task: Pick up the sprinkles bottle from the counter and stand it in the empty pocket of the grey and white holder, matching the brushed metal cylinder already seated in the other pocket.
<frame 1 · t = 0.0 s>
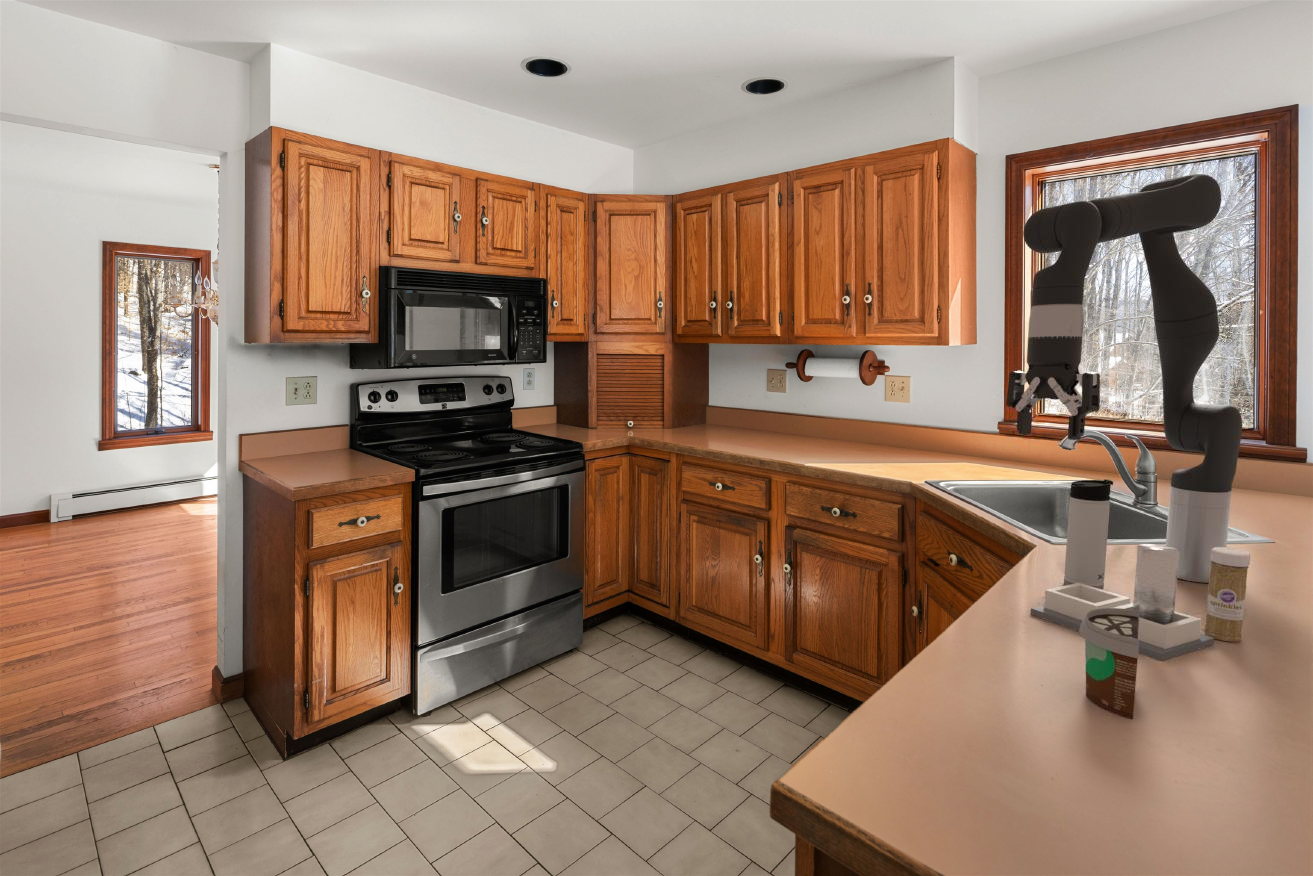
hand: (1048, 436, 113), 29 cm above the counter, tool pointing down, fingers open, 8 cm apart
sprinkles bottle: (1222, 638, 106), on the counter
food container: (1103, 697, 88), on the counter
grey and white holder: (1116, 628, 110), on the counter
travel mug: (1084, 588, 130), on the counter
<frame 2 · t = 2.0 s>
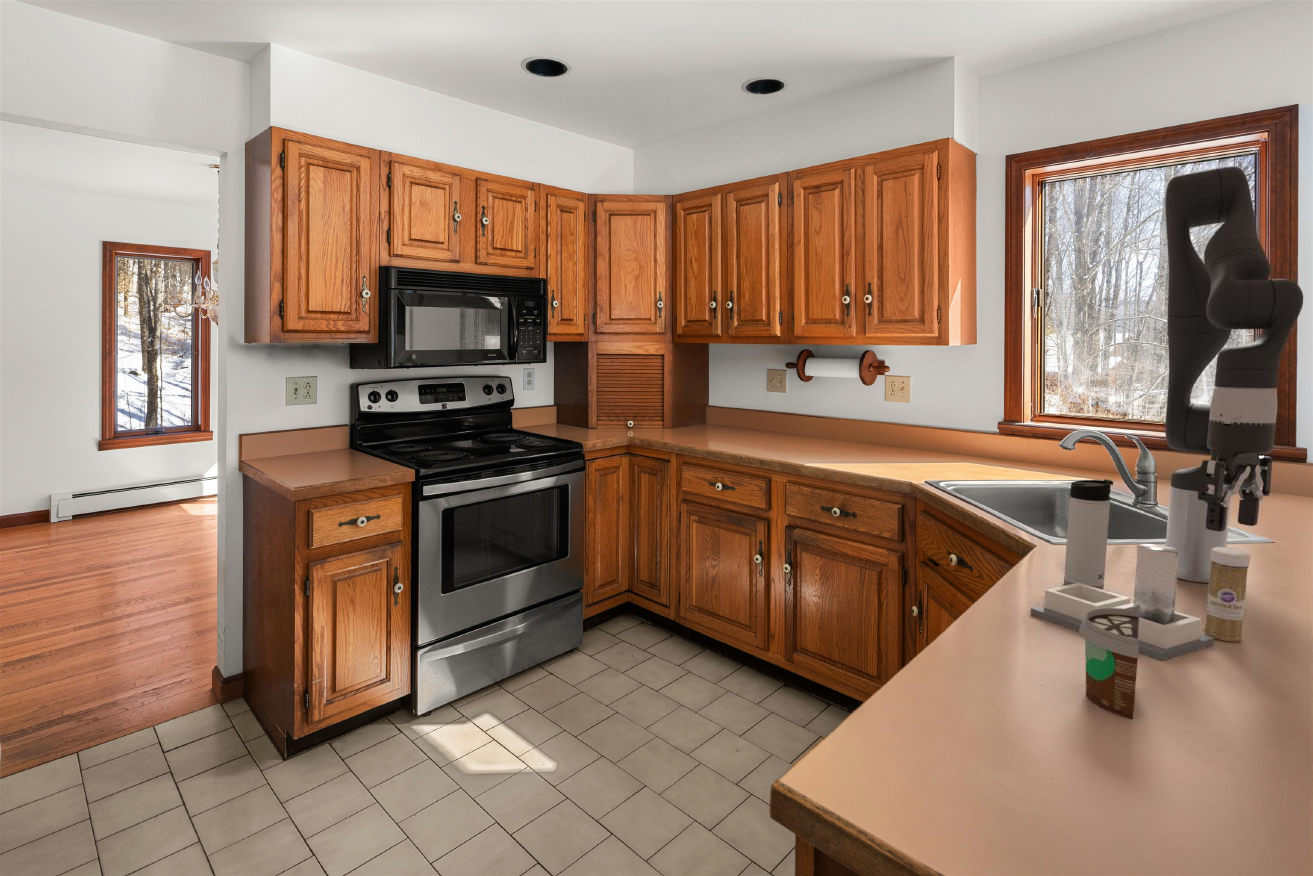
hand: (1231, 527, 105), 17 cm above the counter, tool pointing down, fingers open, 8 cm apart
nothing on the counter moved.
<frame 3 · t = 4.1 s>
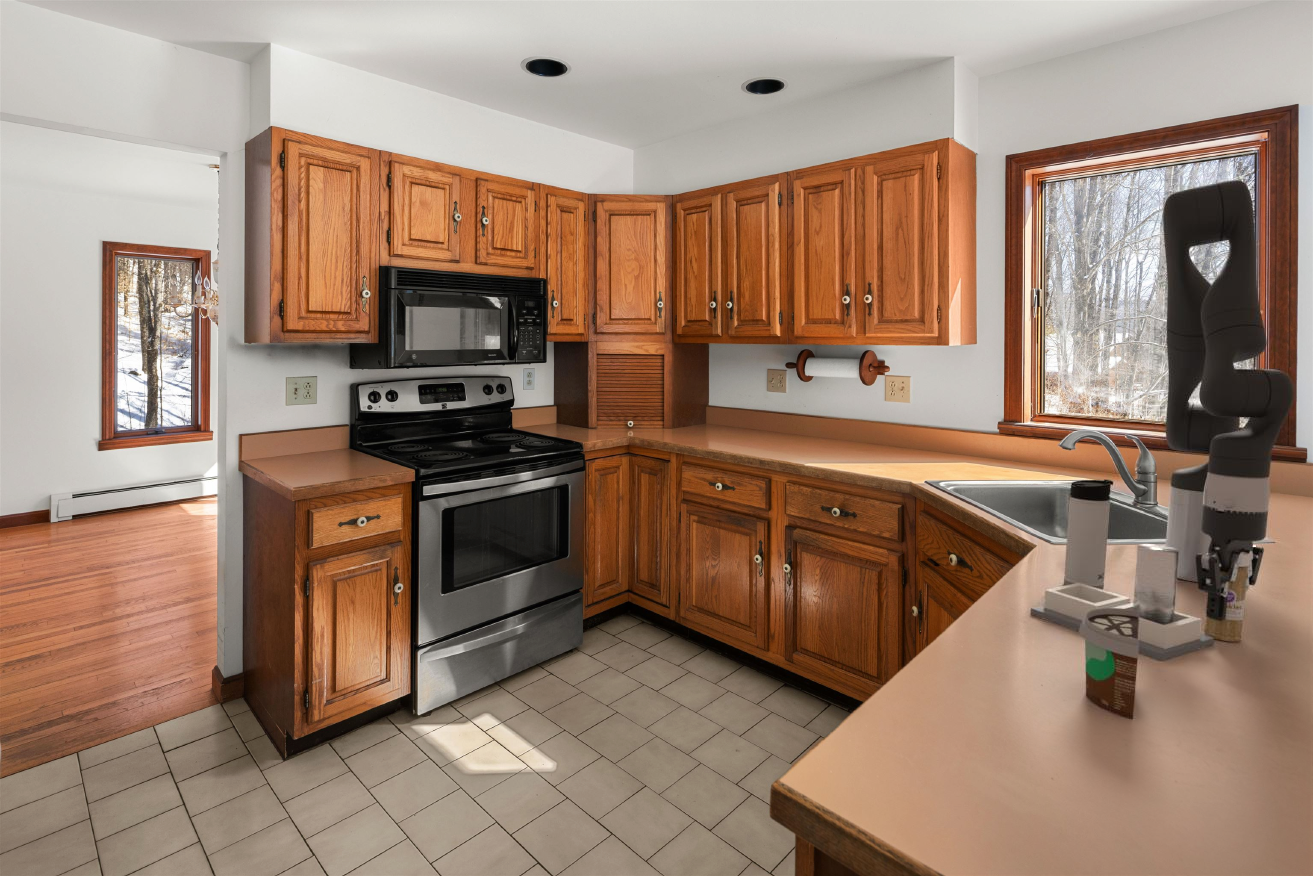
hand: (1224, 615, 106), 3 cm above the counter, tool pointing down, fingers closed on sprinkles bottle, 4 cm apart
sprinkles bottle: (1222, 638, 106), on the counter, touching gripper
everything else where it was.
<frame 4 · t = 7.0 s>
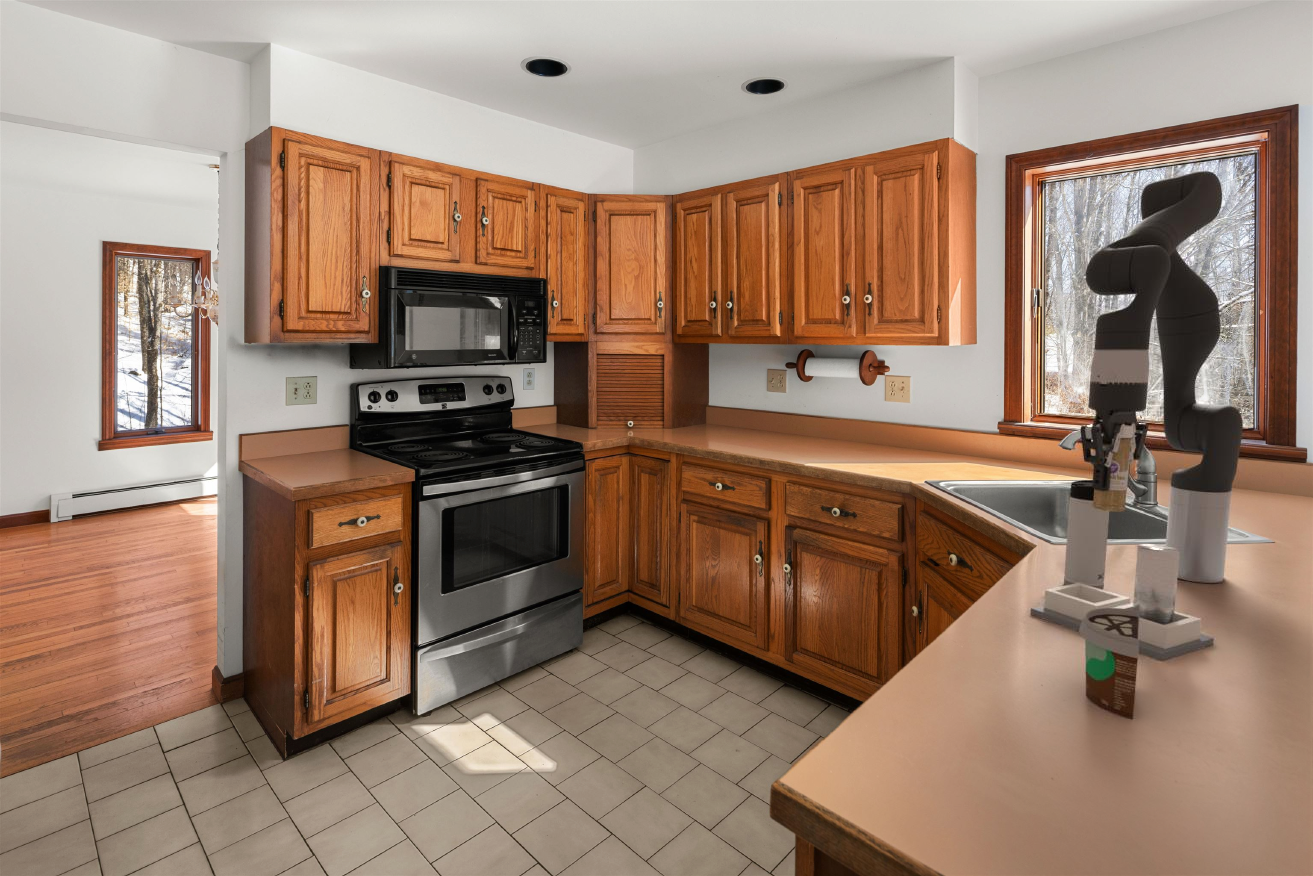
hand: (1110, 488, 111), 22 cm above the counter, tool pointing down, fingers closed on sprinkles bottle, 4 cm apart
sprinkles bottle: (1108, 510, 111), point 18 cm above the counter, touching gripper
everything else where it was.
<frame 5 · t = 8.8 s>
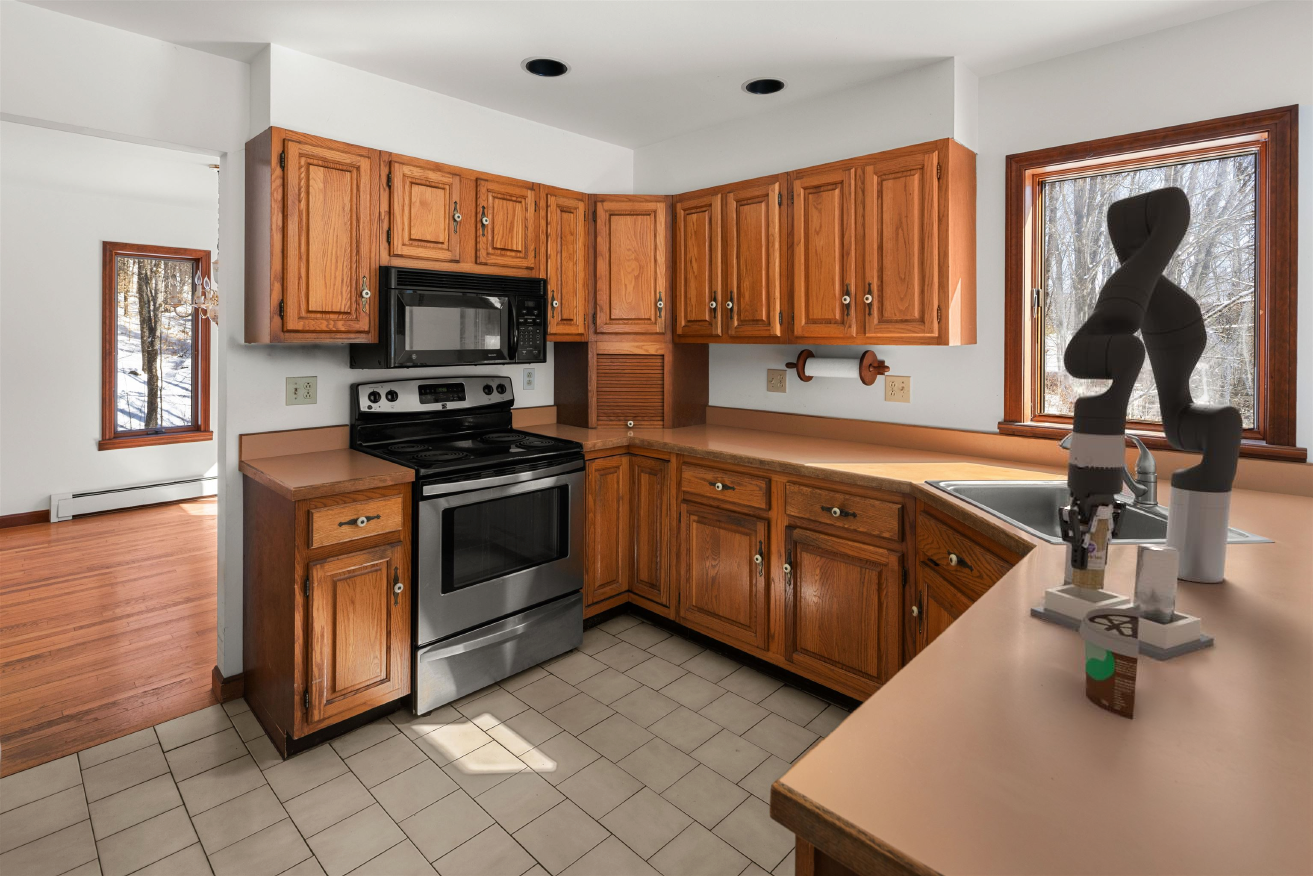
hand: (1088, 566, 113), 9 cm above the counter, tool pointing down, fingers closed on sprinkles bottle, 4 cm apart
sprinkles bottle: (1087, 587, 114), point 5 cm above the counter, touching gripper
everything else where it was.
when the fingers open (6 cm above the counter, at t = 10.1 s): sprinkles bottle drops 1 cm, resting on grey and white holder.
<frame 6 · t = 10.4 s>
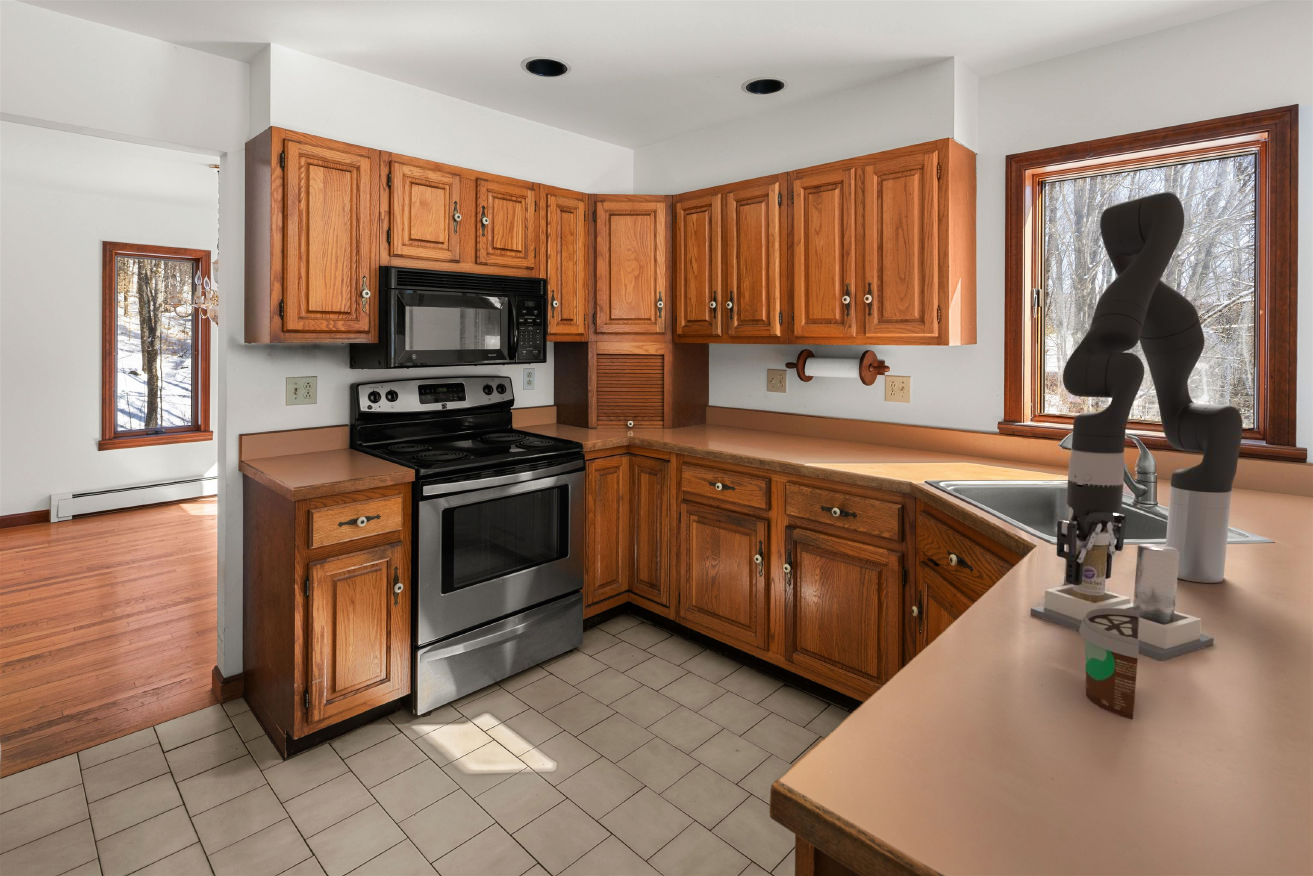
hand: (1088, 580, 114), 6 cm above the counter, tool pointing down, fingers open, 6 cm apart
sprinkles bottle: (1087, 612, 114), point 1 cm above the counter, touching grey and white holder
everything else where it was.
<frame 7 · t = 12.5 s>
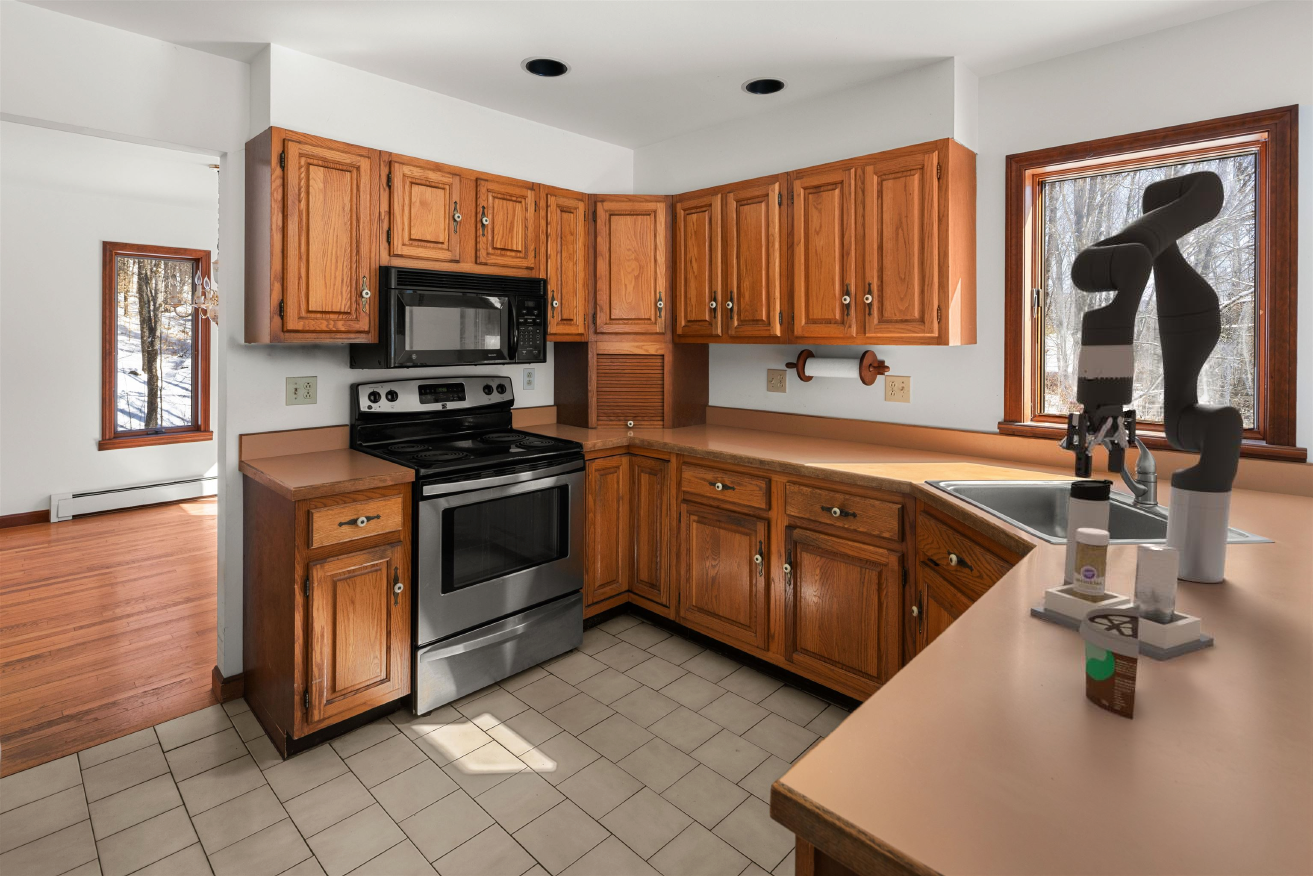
hand: (1099, 475, 114), 23 cm above the counter, tool pointing down, fingers open, 8 cm apart
nothing on the counter moved.
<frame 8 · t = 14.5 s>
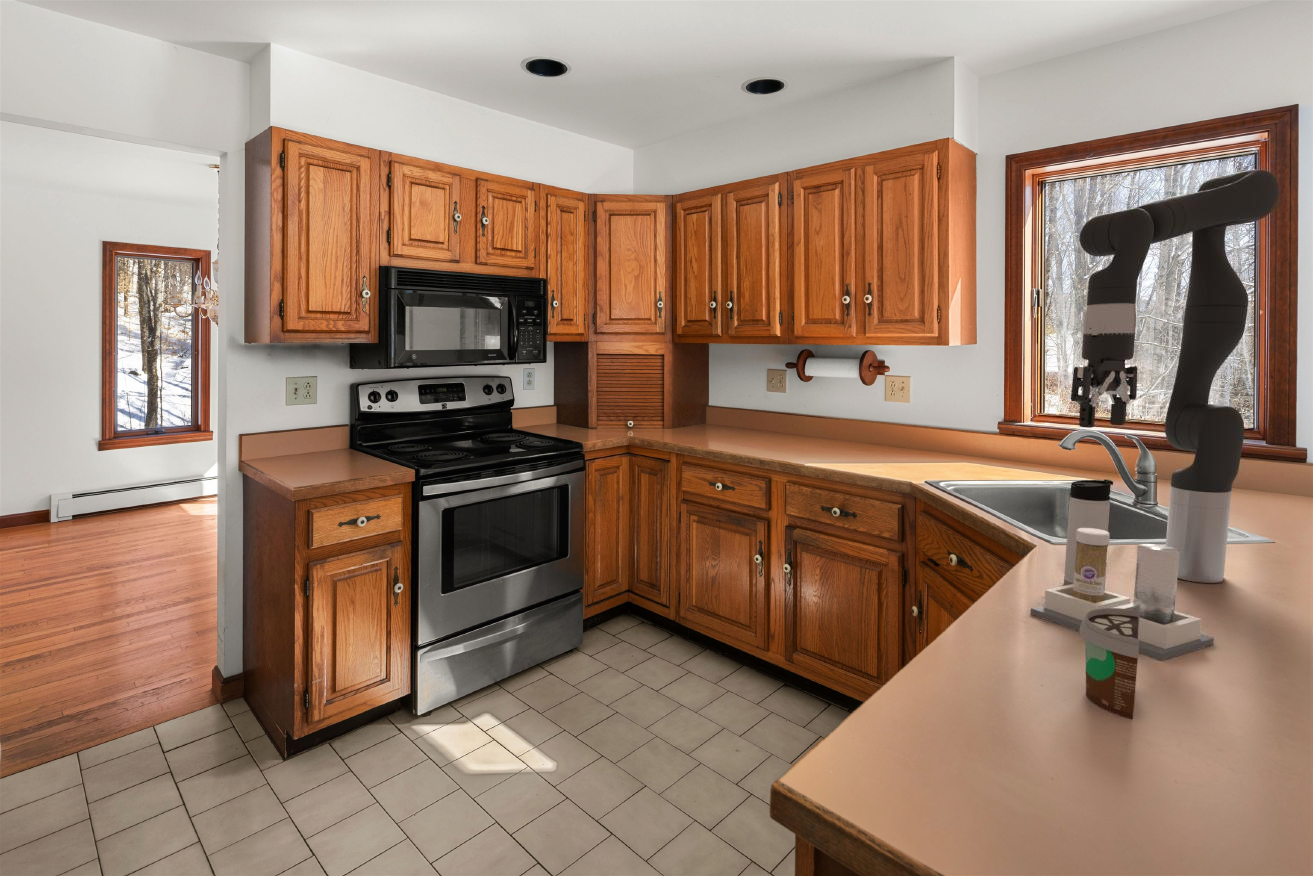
hand: (1102, 426, 122), 30 cm above the counter, tool pointing down, fingers open, 8 cm apart
nothing on the counter moved.
at the end: sprinkles bottle 0.4 cm from the target spot, point 0.8 cm above the counter; sprinkles bottle tilted 0°; the gripper is holding nothing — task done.
